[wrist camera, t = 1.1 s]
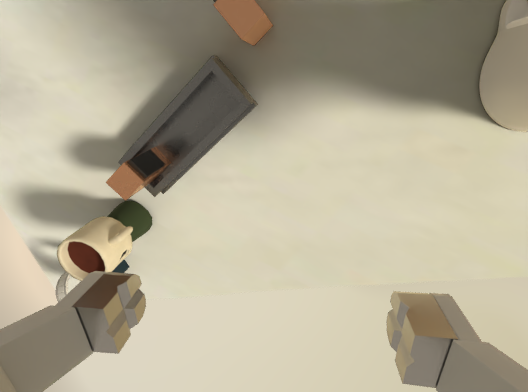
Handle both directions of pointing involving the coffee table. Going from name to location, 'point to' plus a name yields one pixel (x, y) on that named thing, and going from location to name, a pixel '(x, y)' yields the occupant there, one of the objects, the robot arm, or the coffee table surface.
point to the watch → (65, 277)
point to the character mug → (104, 240)
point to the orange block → (244, 18)
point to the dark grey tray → (183, 131)
